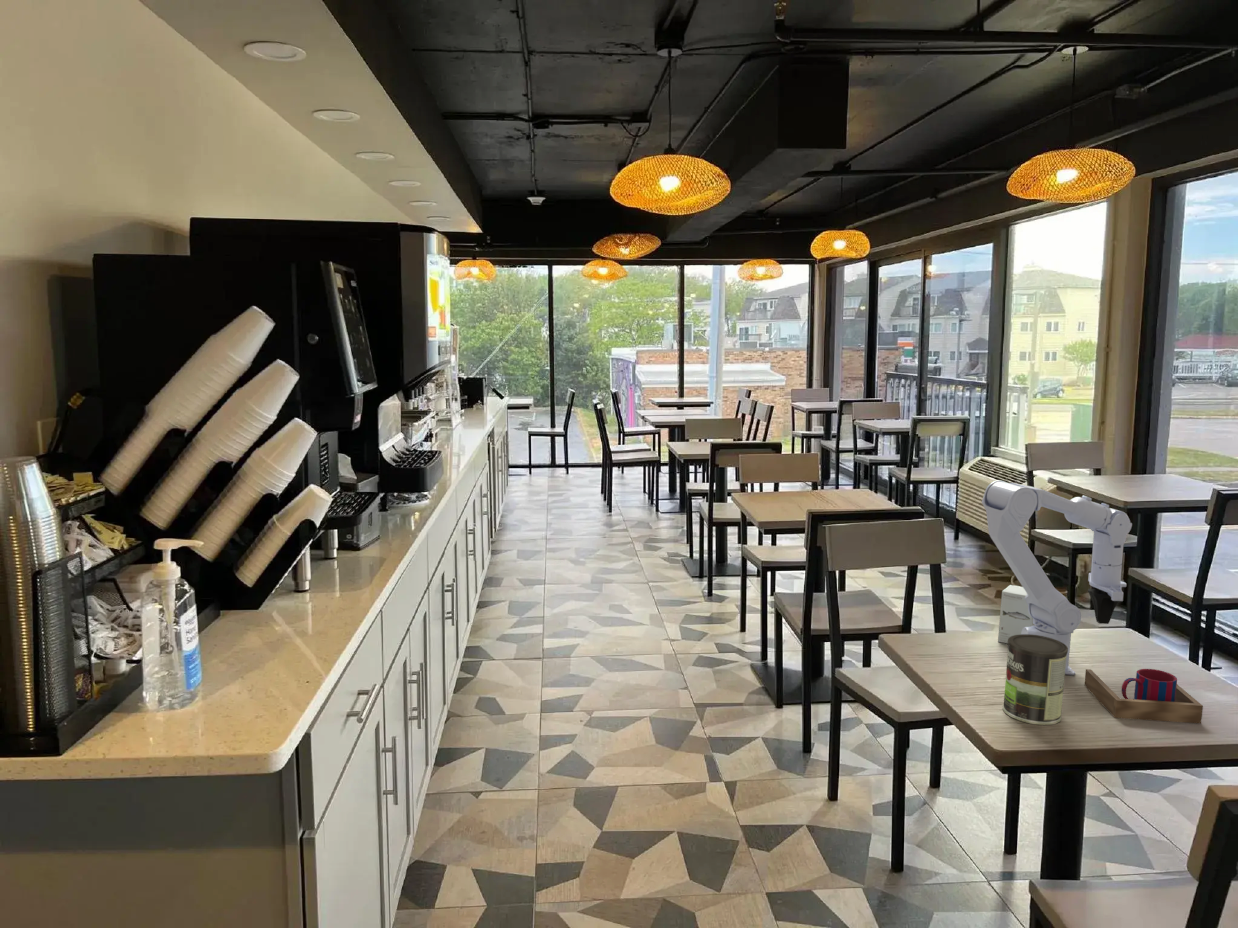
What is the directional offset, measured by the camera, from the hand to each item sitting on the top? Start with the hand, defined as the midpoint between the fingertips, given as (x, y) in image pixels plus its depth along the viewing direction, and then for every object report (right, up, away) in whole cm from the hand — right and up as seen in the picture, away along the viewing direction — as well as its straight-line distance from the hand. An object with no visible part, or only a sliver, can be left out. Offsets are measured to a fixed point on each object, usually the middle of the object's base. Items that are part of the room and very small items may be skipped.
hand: (1102, 622), depth 189 cm
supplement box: (-12, -7, +15) cm, 20 cm away
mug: (-4, -13, -21) cm, 25 cm away
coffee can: (-27, -13, -24) cm, 38 cm away
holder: (-3, -12, -19) cm, 23 cm away
